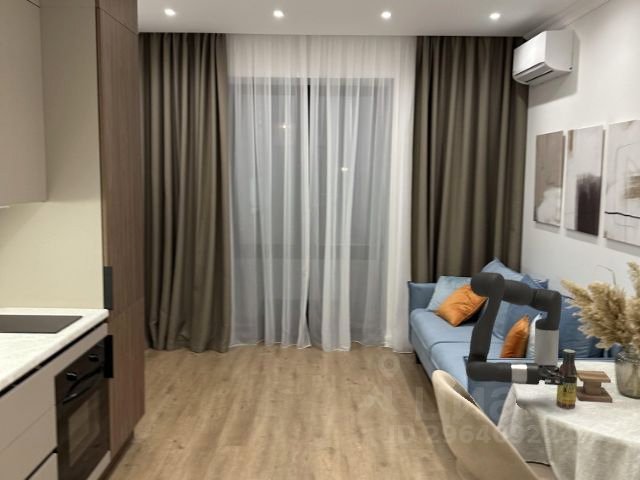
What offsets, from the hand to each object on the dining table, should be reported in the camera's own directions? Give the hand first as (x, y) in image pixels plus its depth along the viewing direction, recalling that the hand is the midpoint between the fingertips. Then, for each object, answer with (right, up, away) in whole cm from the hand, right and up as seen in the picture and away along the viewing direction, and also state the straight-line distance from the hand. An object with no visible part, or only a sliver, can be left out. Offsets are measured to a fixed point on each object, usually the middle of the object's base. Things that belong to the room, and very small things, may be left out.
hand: (572, 375), depth 208 cm
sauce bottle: (-2, -11, +2) cm, 11 cm away
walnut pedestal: (+11, -10, +10) cm, 18 cm away
